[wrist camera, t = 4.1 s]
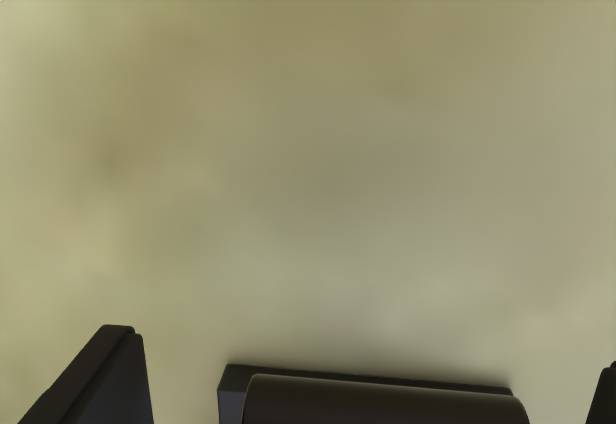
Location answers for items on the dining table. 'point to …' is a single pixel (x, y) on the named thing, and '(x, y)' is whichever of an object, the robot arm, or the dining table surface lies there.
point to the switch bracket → (240, 376)
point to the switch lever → (370, 404)
